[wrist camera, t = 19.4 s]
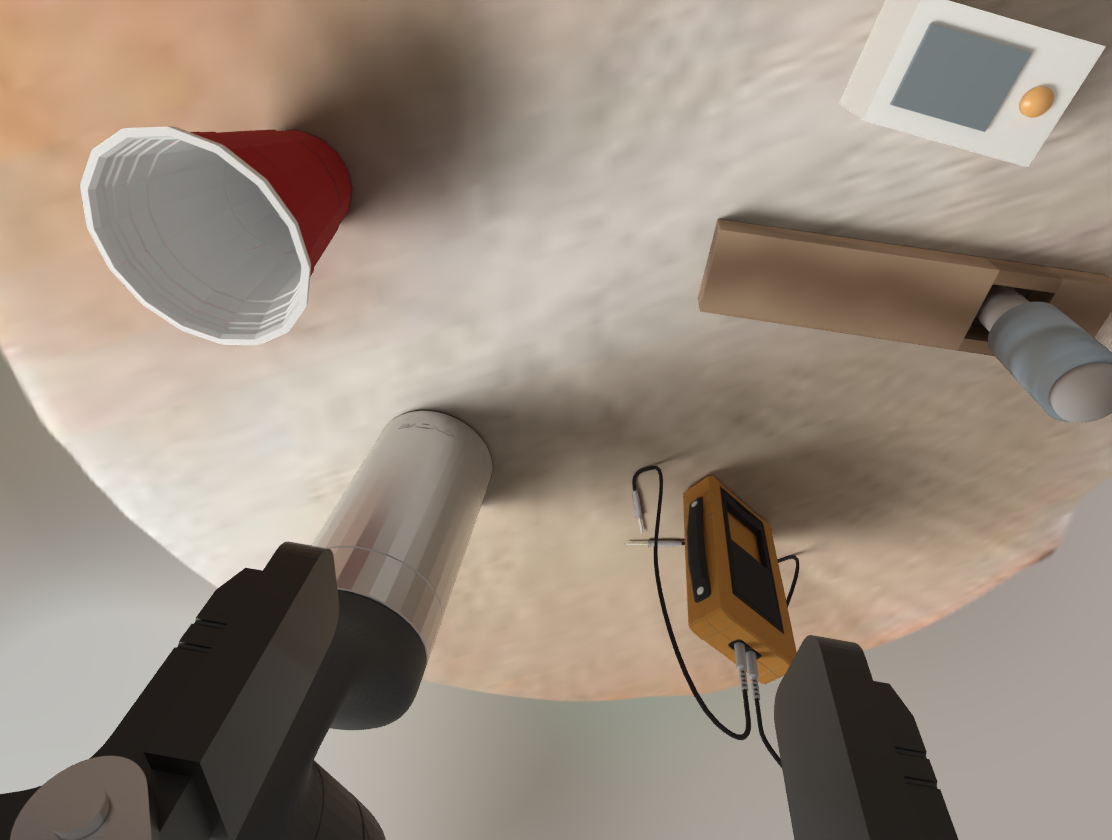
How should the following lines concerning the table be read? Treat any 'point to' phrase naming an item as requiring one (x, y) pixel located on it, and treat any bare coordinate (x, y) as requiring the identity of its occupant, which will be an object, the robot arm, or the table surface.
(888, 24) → the block
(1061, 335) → the grey stepped cylinder
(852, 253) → the bar
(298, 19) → the table surface
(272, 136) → the plastic cup
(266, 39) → the table surface
